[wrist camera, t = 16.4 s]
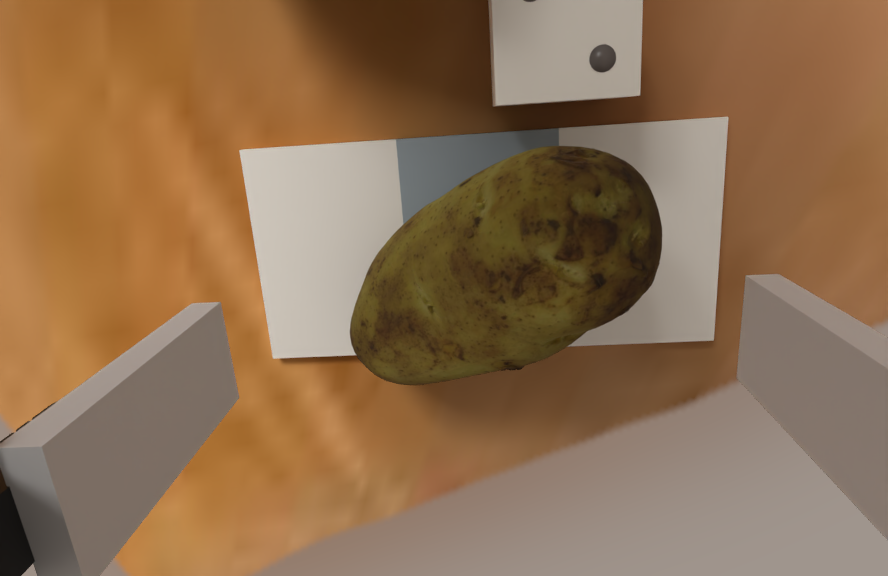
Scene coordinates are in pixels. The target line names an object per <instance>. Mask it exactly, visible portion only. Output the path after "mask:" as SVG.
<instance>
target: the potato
mask: <svg viewBox="0 0 888 576" xmlns="http://www.w3.org/2000/svg"><path fill="white" fill-rule="evenodd" d="M661 251H662V225H661V220H660V215H659V210H658V207H657V204H656V201H655V199H654V196H653V194H652V191H651V189H650V187H649V185H648V183H647V182H646V181H645V179H644V178H643V176H642V175H641V174H640V173H639V172H638V171H637V170H636V169H635V168H634V167H633V166H632V165H630V164H629V163H627V162H626V161H624V160H622V159H620V158H618V157H616V156H614V155H612V154H610V153H607V152H603V151H600V150H596V149H594V148H592V149H591V148H585V147H578V146H547V147H539V148H535V149H531V150H528V151H524V152H522V153H519V154H516V155H514V156H511V157H509V158H507V159H505V160H502V161H500V162H498V163H496V164H494V165H492V166H490V167H488V168H486V169H484V170H482V171H480V172H478V173H477V174H475V175H473V176H471V177H470V178H468V179H466V180H465V181H463V182H462V183H460V184H459V185H457V186H456V187H454V188H453V189H452V190H450V191H449V192H447V193H446V194H444V195H443V196H442V197H440V198H438V199H437V200H435V201H433V202H431V203H429V204H428V205H426V206H425V207H423V208H422V209H421V210H420V211H418V212H417V213H416V214H415V215H413V216H412V217H411V218H410V219H409V220H408V221H407V222H406V223H404V224H403V225H402V226H401V227H400V228H399V229H398V230H397V231H396V232H395V233H394V234H393V235H392V237H391V238H390V239H389V240H388V241H387V242H386V244H385V245H384V246H383V247H382V248H381V250H380V251H379V252H378V254H377V255H376V257H375V258H374V260H373V262H372V263H371V265H370V267H369V269H368V271H367V274H366V277H365V279H364V282H363V285H362V287H361V290H360V293H359V295H358V298H357V301H356V304H355V307H354V311H353V314H352V318H351V323H350V339H351V344H352V347H353V349H354V352H355V354H356V355H357V357H358V359H359V360H360V361H361V362H362V363H363V364H364V365H365V366H366V367H367V368H368V369H369V370H370V371H371V372H372V373H374V374H375V375H376V376H378V377H380V378H381V379H384V380H386V381H389V382H393V383H397V384H403V385H424V384H430V383H437V382H443V381H449V380H454V379H459V378H464V377H468V376H473V375H479V374H484V373H489V372H494V371H499V370H501V371H503V370H506V369H507V370H516V369H517V370H520V369H522V368H523V367H524V366H525V365H528V364H532V363H535V362H538V361H540V360H543V359H545V358H547V357H549V356H551V355H553V354H555V353H557V352H559V351H560V350H562V349H564V348H565V347H567V346H569V345H570V344H572V343H573V342H575V341H576V340H577V339H578V338H580V337H581V336H582V335H583V334H585V333H586V332H587V331H589V330H592V329H595V328H597V327H600V326H602V325H604V324H606V323H608V322H610V321H612V320H614V319H615V318H617V317H619V316H621V315H623V314H624V313H626V312H627V311H629V309H630V308H631V307H632V306H633V305H634V304H635V303H636V302H637V301H638V300H639V299H640V298H641V297H642V295H643V294H644V293H646V291H647V290H648V289H649V287H651V285H652V283H653V281H654V279H655V275H656V272H657V269H658V266H659V264H660V262H659V261H660V257H661Z"/></svg>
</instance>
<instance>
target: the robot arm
mask: <svg viewBox="0 0 888 576" xmlns="http://www.w3.org/2000/svg"><path fill="white" fill-rule="evenodd" d="M737 379H738V380H739V381H740V382H741V384H742V385H743V386H744V387H745V388H746V389H747V390H748V391H749V392H750V393H751V394H752V395H753V396H754V397H755V398H756V400H757V401H758V402H759V403H760V404H761V405H762V406H763V407H764V408H765V409H766V410H767V411H768V412H769V413H770V415H771V416H772V417H773V418H774V419H775V420H776V421H777V422H778V423H779V424H780V425H781V426H782V427H783V428H784V429H785V430H786V432H787V433H788V434H789V435H790V436H791V437H792V438H793V439H794V440H795V441H796V442H797V444H798V445H799V446H801V448H802V449H803V450H804V451H805V452H806V453H807V454H808V455H809V456H810V457H811V459H812V460H813V461H814V462H815V463H816V464H817V465H818V466H819V467H820V468H821V469H822V470H823V471H824V472H825V473H826V475H827V476H828V477H829V478H830V479H831V480H832V481H833V482H834V483H835V484H836V485H837V486H838V487H839V488H840V490H841V491H842V492H843V493H844V494H845V495H846V496H847V497H848V498H849V499H850V500H851V501H852V502H853V503H854V505H855V506H856V507H857V508H858V509H859V510H860V511H861V512H862V513H863V514H864V515H865V516H866V517H867V518H868V520H869V521H870V522H871V523H872V524H873V525H874V526H875V527H876V528H877V529H878V530H879V531H880V532H881V533H882V534H883V536H884V537H885V538H886V539H887V540H888V337H886V336H884V335H883V334H881V333H879V332H878V331H876V330H874V329H873V328H871V327H869V326H867V325H866V324H864V323H862V322H860V321H859V320H857V319H855V318H854V317H852V316H850V315H848V314H847V313H845V312H843V311H842V310H840V309H838V308H836V307H835V306H833V305H831V304H829V303H828V302H826V301H824V300H823V299H821V298H819V297H817V296H816V295H814V294H812V293H810V292H809V291H807V290H805V289H804V288H802V287H800V286H798V285H797V284H795V283H793V282H792V281H790V280H788V279H786V278H785V277H783V276H781V275H779V274H765V275H746V278H745V289H744V300H743V311H742V322H741V334H740V345H739V356H738V367H737ZM238 399H239V395H238V389H237V384H236V379H235V374H234V369H233V364H232V359H231V353H230V348H229V343H228V338H227V333H226V328H225V322H224V317H223V312H222V307H221V302H212V303H192V304H190V305H189V306H188V307H186V308H185V309H184V310H182V311H181V312H179V313H178V314H177V315H175V316H174V317H173V318H171V319H170V320H169V321H167V322H166V323H164V324H163V325H162V326H160V327H159V328H158V329H156V330H155V331H153V332H152V333H151V334H149V335H148V336H147V337H145V338H144V339H143V340H141V341H140V342H138V343H137V344H136V345H134V346H133V347H132V348H130V349H129V350H127V351H126V352H125V353H123V354H122V355H121V356H119V357H118V358H117V359H115V360H114V361H112V362H111V363H110V364H108V365H107V366H106V367H104V368H103V369H101V370H100V371H99V372H97V373H96V374H95V375H93V376H92V377H90V378H89V379H88V380H86V381H85V382H84V383H82V384H81V385H80V386H78V387H77V388H75V389H74V390H73V391H71V392H70V393H69V394H67V395H66V396H64V397H63V398H62V399H60V400H59V401H57V402H55V403H53V404H51V405H50V406H48V407H47V408H46V409H44V410H43V411H42V412H40V413H39V414H37V415H36V416H35V417H33V418H32V421H28V422H26V423H25V424H24V425H22V426H21V427H20V428H18V429H17V430H16V432H15V433H11V434H10V435H9V436H7V437H6V438H4V439H3V440H2V441H0V576H21V575H22V574H23V573H24V572H25V571H26V570H27V569H28V568H29V567H30V566H31V565H32V564H34V567H35V570H36V573H37V576H100V575H101V574H102V573H103V571H104V570H105V569H106V567H107V566H108V565H109V564H110V562H111V561H112V560H113V558H114V557H115V556H116V555H117V553H118V552H119V551H120V549H121V548H122V547H123V546H124V544H125V543H126V542H127V541H128V539H129V538H130V537H131V535H132V534H133V533H134V532H135V530H136V529H137V528H138V526H139V525H140V524H141V523H142V521H143V520H144V519H145V518H146V516H147V515H148V514H149V512H150V511H151V510H152V509H153V507H154V506H155V505H156V503H157V502H158V501H159V500H160V498H161V497H162V496H163V495H164V493H165V492H166V491H167V489H168V488H169V487H170V486H171V484H172V483H173V482H174V480H175V479H176V478H177V477H178V475H179V474H180V473H181V471H182V470H183V469H184V468H185V466H186V465H187V464H188V463H189V461H190V460H191V459H192V457H193V456H194V455H195V454H196V452H197V451H198V450H199V448H200V447H201V446H202V445H203V443H204V442H205V441H206V440H207V438H208V437H209V436H210V434H211V433H212V432H213V431H214V429H215V428H216V427H217V425H218V424H219V423H220V422H221V420H222V419H223V418H224V417H225V415H226V414H227V413H228V411H229V410H230V409H231V408H232V406H233V405H234V404H235V402H236V401H237V400H238Z"/></svg>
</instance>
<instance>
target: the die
mask: <svg viewBox="0 0 888 576" xmlns="http://www.w3.org/2000/svg"><path fill="white" fill-rule="evenodd" d="M488 3H489V27H490V52H491V76H492V101H493V107H497V106H511V105H526V104H540V103H555V102H569V101H584V100H598V99H612V98H622V97H632V96H640V89H641V51H642V12H643V0H488Z"/></svg>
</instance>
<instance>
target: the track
mask: <svg viewBox="0 0 888 576" xmlns="http://www.w3.org/2000/svg"><path fill="white" fill-rule="evenodd" d="M727 131H728V117H714V118H700V119H685V120H670V121H655V122H641V123H626V124H611V125H596V126H582V127H567V128H552V129H537V130H523V131H508V132H493V133H479V134H464V135H449V136H434V137H420V138H405V139H390V140H375V141H361V142H346V143H331V144H317V145H302V146H287V147H272V148H258V149H243V150H240V156H241V163H242V169H243V175H244V181H245V187H246V194H247V200H248V206H249V212H250V218H251V225H252V231H253V237H254V243H255V249H256V256H257V262H258V268H259V274H260V280H261V287H262V293H263V299H264V305H265V311H266V317H267V324H268V330H269V336H270V342H271V348H272V355H273V359H274V358H299V357H323V356H348V355H356V354H355V352H354V349H353V347H352V344H351V339H350V323H351V318H352V314H353V311H354V307H355V304H356V301H357V298H358V295H359V293H360V290H361V287H362V285H363V282H364V279H365V277H366V274H367V271H368V269H369V267H370V265H371V263H372V262H373V260H374V258H375V257H376V255H377V254H378V252H379V251H380V250H381V248H382V247H383V246H384V245H385V244H386V242H387V241H388V240H389V239H390V238H391V237H392V235H393V234H394V233H395V232H396V231H397V230H398V229H399V228H400V227H401V226H402V225H403V224H404V223H406V222H407V221H408V220H409V219H410V218H411V217H412V216H413V215H415V214H416V213H417V212H418V211H420V210H421V209H422V208H423V207H425V206H426V205H428V204H429V203H431V202H433V201H435V200H437V199H438V198H440V197H442V196H443V195H444V194H446V193H447V192H449V191H450V190H452V189H453V188H454V187H456V186H457V185H459V184H460V183H462V182H463V181H465V180H466V179H468V178H470V177H471V176H473V175H475V174H477V173H478V172H480V171H482V170H484V169H486V168H488V167H490V166H492V165H494V164H496V163H498V162H500V161H502V160H505V159H507V158H509V157H511V156H514V155H516V154H519V153H522V152H524V151H528V150H531V149H535V148H539V147H547V146H578V147H585V148H591V149H592V148H594V149H596V150H600V151H603V152H607V153H610V154H612V155H614V156H616V157H618V158H620V159H622V160H624V161H626V162H627V163H629V164H630V165H632V166H633V167H634V168H635V169H636V170H637V171H638V172H639V173H640V174H641V175H642V176H643V178H644V179H645V181H646V182H647V183H648V185H649V187H650V189H651V191H652V194H653V196H654V199H655V201H656V204H657V207H658V210H659V215H660V220H661V225H662V251H661V257H660V261H659V262H660V264H659V266H658V269H657V272H656V275H655V279H654V281H653V283H652V285H651V287H649V289H648V290H647V291H646V293H644V294H643V295H642V297H641V298H640V299H639V300H638V301H637V302H636V303H635V304H634V305H633V306H632V307H631V308H630V309H629V311H627V312H626V313H624V314H623V315H621V316H619V317H617V318H615V319H614V320H612V321H610V322H608V323H606V324H604V325H602V326H600V327H597V328H595V329H592V330H589V331H587V332H586V333H585V334H583V335H582V336H581V337H580V338H578V339H577V340H576V341H575V342H573V343H572V344H570V345H569V346H593V345H618V344H642V343H667V342H691V341H714V331H715V315H716V300H717V285H718V269H719V254H720V239H721V223H722V208H723V193H724V177H725V162H726V147H727ZM569 346H567V347H569Z"/></svg>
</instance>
